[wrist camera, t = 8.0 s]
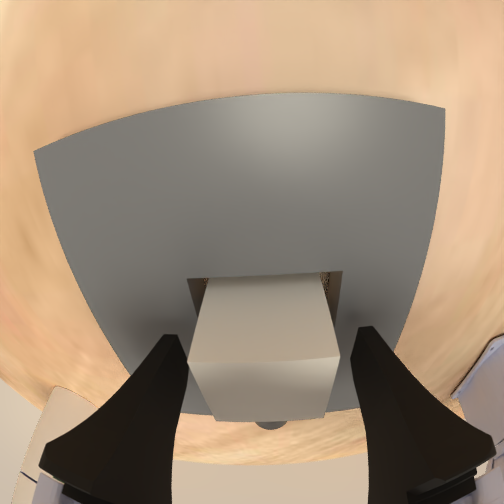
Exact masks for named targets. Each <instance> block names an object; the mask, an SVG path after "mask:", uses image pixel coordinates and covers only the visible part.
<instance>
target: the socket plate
mask: <svg viewBox="0 0 504 504" xmlns="http://www.w3.org/2000/svg"><path fill="white" fill-rule="evenodd" d="M444 139H445V108H441V107H436V106H431V105H427V104H421V103H416V102H410V101H404V100H398V99H391V98H383V97H374V96H364V95H352V94H335V93H276V94H258V95H246V96H235V97H226V98H218V99H211V100H204V101H198V102H192V103H186V104H181V105H175V106H170V107H166V108H161V109H157V110H152V111H148V112H144V113H140V114H136V115H132V116H129V117H125V118H121V119H118V120H115V121H111V122H108V123H105V124H102V125H99V126H96V127H93V128H90V129H87V130H84V131H81V132H79V133H76V134H73V135H71V136H68V137H65V138H63V139H60V140H58V141H56V142H53V143H51V144H49V145H46V146H44V147H42V148H40V149H37V150H35V151H34V156H35V161H36V165H37V170H38V174H39V178H40V182H41V185H42V189H43V193H44V196H45V200H46V203H47V206H48V209H49V213H50V216H51V219H52V222H53V225H54V227H55V230H56V233H57V236H58V238H59V241H60V244H61V246H62V249H63V251H64V254H65V256H66V259H67V261H68V263H69V266H70V268H71V270H72V273H73V275H74V277H75V279H76V281H77V283H78V286H79V288H80V290H81V292H82V294H83V296H84V298H85V300H86V302H87V304H88V306H89V308H90V310H91V311H92V313H93V315H94V317H95V319H96V321H97V322H98V324H99V326H100V328H101V330H102V331H103V333H104V335H105V336H106V338H107V340H108V341H109V343H110V345H111V346H112V348H113V350H114V351H115V353H116V354H117V356H118V357H119V359H120V361H121V362H122V364H123V365H124V367H125V368H126V370H127V371H128V373H129V374H130V375H132V374H133V373H134V371H135V370H136V369H137V368H138V366H139V365H140V364H141V363H142V361H143V360H144V359H145V358H146V356H147V355H148V354H149V352H150V351H151V350H152V348H153V347H154V346H155V344H156V343H157V342H158V341H159V339H160V338H161V337H162V335H163V334H177V335H178V337H179V340H180V342H181V345H182V347H183V350H184V352H185V354H186V357H187V359H188V356H189V352H190V348H191V344H192V340H193V336H194V332H195V328H196V324H197V321H198V317H199V313H200V309H201V305H202V302H203V298H204V294H205V291H206V289H205V284H204V280H203V278H216V277H241V276H262V275H282V274H300V273H316V272H330V274H329V285H328V294H327V304H328V308H329V311H330V315H331V319H332V323H333V327H334V331H335V335H336V340H337V344H338V348H339V352H340V360H339V364H338V368H337V372H336V376H335V380H334V384H333V387H332V391H331V394H330V398H329V401H328V405H327V408H326V412H334V411H341V410H348V409H354V408H360V405H359V401H358V397H357V393H356V389H355V385H354V381H353V376H352V369H351V362H350V357H351V353H352V349H353V346H354V342H355V338H356V335H357V331H358V327H365V326H373V327H374V328H375V329H376V330H377V331H378V333H379V334H380V335H381V337H382V338H383V339H384V341H385V342H386V343H387V344H388V346H389V347H390V348H391V350H392V351H394V349H395V347H396V344H397V342H398V340H399V337H400V335H401V332H402V330H403V327H404V324H405V322H406V319H407V316H408V314H409V311H410V308H411V305H412V302H413V299H414V296H415V293H416V290H417V287H418V284H419V280H420V277H421V274H422V270H423V267H424V263H425V259H426V255H427V251H428V247H429V243H430V239H431V234H432V230H433V225H434V220H435V214H436V209H437V203H438V197H439V190H440V183H441V175H442V165H443V154H444ZM180 413H188V414H199V415H213V414H212V412H211V410H210V408H209V406H208V405H207V403H206V401H205V399H204V397H203V395H202V393H201V391H200V388H199V386H198V384H197V382H196V380H195V378H194V376H193V374H192V372H191V369H190V367H189V374H188V382H187V388H186V392H185V396H184V400H183V404H182V408H181V412H180Z"/></svg>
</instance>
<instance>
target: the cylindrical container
mask: <svg viewBox="0 0 504 504" xmlns="http://www.w3.org/2000/svg"><path fill="white" fill-rule="evenodd" d="M97 410H98V408H97V407H96V406H95V405H93V404H92V403H91V402H89V401H88V400H86V399H85V398H83V397H81V396H80V395H78V394H76V393H74V392H72V391H70V390H68V389H65V388H62V387H58V386H56V387H54V389H53V391H52V393H51V395H50V397H49V399H48V401H47V403H46V406H45V408H44V410H43V412H42V415H41V417H40V419H39V421H38V424H37V426H36V429H35V431H34V434H33V436H32V439H31V441H30V444H29V447H28V449H27V452H26V455H25V458H24V461H23V464H22V467H21V470H22V471H23V472H24V473H23V472H21V471H20V473H19V476H18V479H17V483H16V487H15V490H14V494H13V498H12V502H11V504H32V500H33V496H34V492H35V489H36V485H37V482H38V478H39V475H40V473H41V472H42V473H44V474H46V475H48V476H49V477H51V478H53V479H55V480H57V481H59V482H61V483H63V484H64V482H63V481H61V480H59V479H57V478H56V477H54V476H52V475H50V474H49V473H47V472H45V471H44V470H42V469H41V468H39V466H38V465H39V462H40V459H41V456H42V453H43V450H44V447H45V445H46V443H48V442H50V441H52V440H54V439H56V438H57V437H59V436H61V435H63V434H65V433H67V432H68V431H70V430H71V429H73V428H74V427H76V426H77V425H79V424H80V423H82V422H83V421H84V420H86V419H87V418H88V417H90V416H91V415H92V414H93V413H94V412H96V411H97Z"/></svg>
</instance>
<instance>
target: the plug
mask: <svg viewBox="0 0 504 504" xmlns="http://www.w3.org/2000/svg"><path fill="white" fill-rule="evenodd" d="M339 360H340V352H339V348H338V344H337V340H336V335H335V331H334V327H333V323H332V319H331V315H330V311H329V308H328V304H327V300H326V296H325V292H324V289H323V285H322V282H321V278H320V274H319V272H316V273H300V274H282V275H262V276H241V277H216V278H209V280H208V283H207V287H206V291H205V294H204V298H203V302H202V305H201V309H200V313H199V317H198V321H197V324H196V328H195V332H194V336H193V340H192V344H191V348H190V352H189V356H188V360H187V363H188V365H189V367H190V369H191V372H192V374H193V376H194V378H195V380H196V382H197V384H198V386H199V388H200V391H201V393H202V395H203V397H204V399H205V401H206V403H207V405H208V406H209V408H210V410H211V412H212V414H213V416H214V418H215V420H216V421H226V422H255V423H256V424H257V425H258V426H260V427H261V428H264V429H268V430H273V429H278V428H280V427H282V426H283V425H285V424H286V423H287V421H293V420H305V419H316V418H324V415H325V412H326V408H327V405H328V401H329V398H330V394H331V391H332V387H333V384H334V380H335V376H336V372H337V368H338V364H339Z"/></svg>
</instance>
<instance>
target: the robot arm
mask: <svg viewBox="0 0 504 504" xmlns="http://www.w3.org/2000/svg"><path fill="white" fill-rule="evenodd" d="M187 360H188V359H187V357H186V354H185V352H184V350H183V347H182V345H181V342H180V340H179V337H178V335H177V334H163V335H162V337H161V338H160V339H159V341H158V342H157V343H156V344H155V346H154V347H153V348H152V350H151V351H150V352H149V354H148V355H147V356H146V358H145V359H144V360H143V361H142V363H141V364H140V365H139V366H138V368H137V369H136V370H135V371H134V373H133V374H132V375H131V376H130V377H129V378H128V380H127V381H126V382H125V383H124V384H123V385H122V386H121V388H120V389H119V390H118V391H117V392H116V393H115V394H114V395H113V396H112V397H111V398H110V399H109V400H108V401H107V402H106V403H105V404H104V405H103V406H101V407H100V408H99V409H98V410H97V411H96V412H94V413H93V414H92V415H91V416H90V417H88V418H87V419H86V420H84V421H83V422H82V423H80V424H79V425H77V426H76V427H74V428H73V429H71V430H70V431H68V432H67V433H65V434H63V435H61V436H59V437H57V438H56V439H54V440H52V441H50V442H48V443H46V445H45V447H44V450H43V453H42V456H41V459H40V462H39V465H38V466H39V468H41V469H42V470H44V471H45V472H47V473H49V474H50V475H52V476H54V477H56V478H57V479H59V480H61V481H63V482H64V484H63V483H61V482H59V481H57V480H55V479H53V478H51V477H49V476H48V475H46V474H44V473H42V472H41V473H40V475H39V478H38V482H37V485H36V489H35V492H34V496H33V500H32V504H172V495H171V494H172V492H171V482H172V479H171V478H172V460H173V449H174V440H175V433H176V428H177V424H178V420H179V416H180V412H181V408H182V404H183V400H184V396H185V392H186V388H187V382H188V374H189V365H188V363H187ZM350 362H351V369H352V376H353V381H354V385H355V389H356V393H357V397H358V401H359V405H360V409H361V413H362V417H363V421H364V425H365V431H366V439H367V449H368V465H369V492H368V504H504V335H503V336H500V337H498V338H495V339H493V340H492V341H491V342H490V343H489V345H488V346H487V348H486V350H485V351H484V353H483V354H482V356H481V357H480V359H479V360H478V361H477V363H476V364H475V366H474V367H473V368H472V370H471V371H470V372H469V374H468V375H467V376H466V378H465V379H464V380H463V382H462V383H461V384H460V385H459V387H458V388H457V389H456V390H455V392H454V393H453V394H452V395H451V398H452V399H455V398H458V400H459V402H460V405H461V408H462V410H463V413H464V416H465V419H466V421H464V420H463V419H461V418H460V417H459V416H457V415H456V414H455V413H453V412H452V411H451V410H449V409H448V408H447V407H446V406H444V405H443V404H442V403H441V402H440V401H438V400H437V399H436V398H435V397H434V396H433V395H432V394H431V393H430V392H429V391H428V390H427V389H426V388H425V387H424V386H423V385H422V384H421V383H420V382H419V381H418V380H417V379H416V378H415V377H414V376H413V375H412V374H411V372H410V371H409V370H408V369H407V368H406V367H405V365H404V364H403V363H402V362H401V361H400V359H399V358H398V357H397V356H396V355H395V353H394V352H393V351H392V350H391V348H390V347H389V346H388V344H387V343H386V342H385V341H384V339H383V338H382V337H381V335H380V334H379V333H378V331H377V330H376V329H375V328H374V327H373V326H365V327H358V331H357V335H356V338H355V342H354V346H353V349H352V353H351V357H350ZM495 446H496V447H495ZM488 460H489V461H488ZM486 461H488V464H487V468H486V473H485V474H484V475H482V476H480V477H478V478H475V479H474V476H475V475H476V474H477V470H476V467H478V466H480V465H481V464H483V463H484V462H486Z"/></svg>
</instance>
